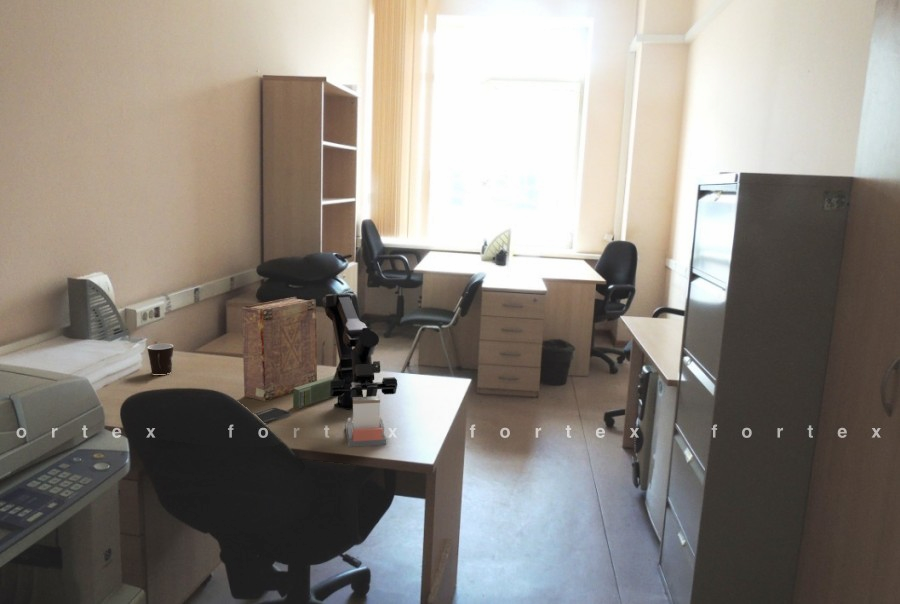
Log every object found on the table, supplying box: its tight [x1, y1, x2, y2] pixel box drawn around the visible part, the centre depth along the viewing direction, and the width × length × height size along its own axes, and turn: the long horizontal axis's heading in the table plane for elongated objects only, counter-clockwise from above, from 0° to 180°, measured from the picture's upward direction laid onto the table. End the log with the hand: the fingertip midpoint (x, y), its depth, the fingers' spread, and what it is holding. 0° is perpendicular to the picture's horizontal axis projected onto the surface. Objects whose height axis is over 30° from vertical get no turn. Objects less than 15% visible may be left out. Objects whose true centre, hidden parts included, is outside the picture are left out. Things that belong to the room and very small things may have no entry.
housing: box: [344, 416, 387, 448], centre depth 178 cm, size 14×10×4 cm
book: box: [241, 296, 318, 402], centre depth 215 cm, size 25×9×30 cm, turn 151°
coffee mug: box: [146, 343, 174, 374], centre depth 229 cm, size 12×9×10 cm
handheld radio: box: [292, 374, 335, 409], centre depth 209 cm, size 7×3×25 cm
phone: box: [255, 407, 291, 425], centre depth 189 cm, size 8×1×15 cm
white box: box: [352, 395, 381, 429], centre depth 175 cm, size 3×7×10 cm, turn 103°
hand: (365, 414), depth 177 cm, fingers closed, pressing on white box
